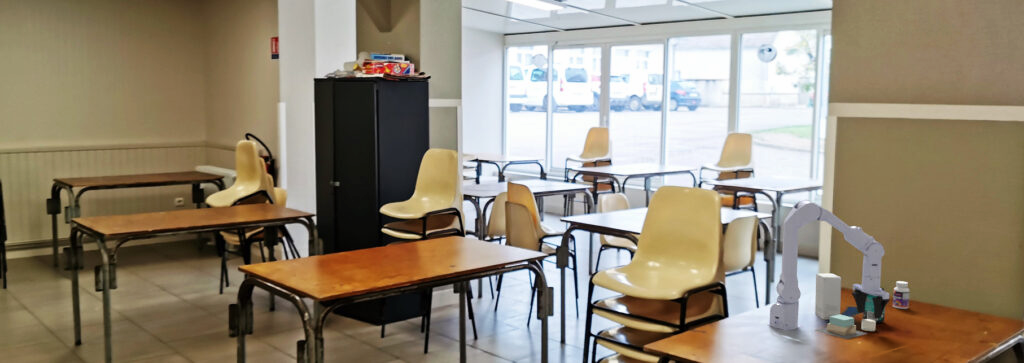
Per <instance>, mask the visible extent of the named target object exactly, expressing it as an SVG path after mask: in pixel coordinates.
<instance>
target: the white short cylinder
mask: <svg viewBox="0 0 1024 363" xmlns="http://www.w3.org/2000/svg"><path fill="white" fill-rule="evenodd" d="M876 324H877V323H876V321H874V320H870V319H863V318H862V319H861V328H860V329H861V330H862V331H867V332H875V331H876Z"/></svg>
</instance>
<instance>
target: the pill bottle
mask: <svg viewBox="0 0 1024 363" xmlns="http://www.w3.org/2000/svg"><path fill="white" fill-rule="evenodd" d="M908 286H909V283H908V281H903V280H902V281H901V280H897V281H896V282H895V287H894V288H893V297H892V298H893V299H892V307H893V308H895V309H901V310H907V309H909V303H910V288H908Z"/></svg>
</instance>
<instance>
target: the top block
mask: <svg viewBox="0 0 1024 363" xmlns="http://www.w3.org/2000/svg"><path fill="white" fill-rule="evenodd" d="M829 324H832V325H836V326H840V327H843V328H845V327H849V326H853V325H855V317H852V316H847V315H843V314H841V313H840V314H839V315H835V316H830V319H829Z"/></svg>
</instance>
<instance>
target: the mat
mask: <svg viewBox="0 0 1024 363" xmlns="http://www.w3.org/2000/svg"><path fill="white" fill-rule="evenodd" d="M814 331H816V332H820V333H822V334H827V335H830V336H835V337H838V338H841V339H845V340H849V339H852V338H853V339H854V338H857V337H860V336H864V335H867V334H868V332H863V331H859V330H856V333H853V334H849V335H845V336H844V335H840V334H836V333H832V332H829V331H827V326H826V327H822V328H818V329H815V330H814Z"/></svg>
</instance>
